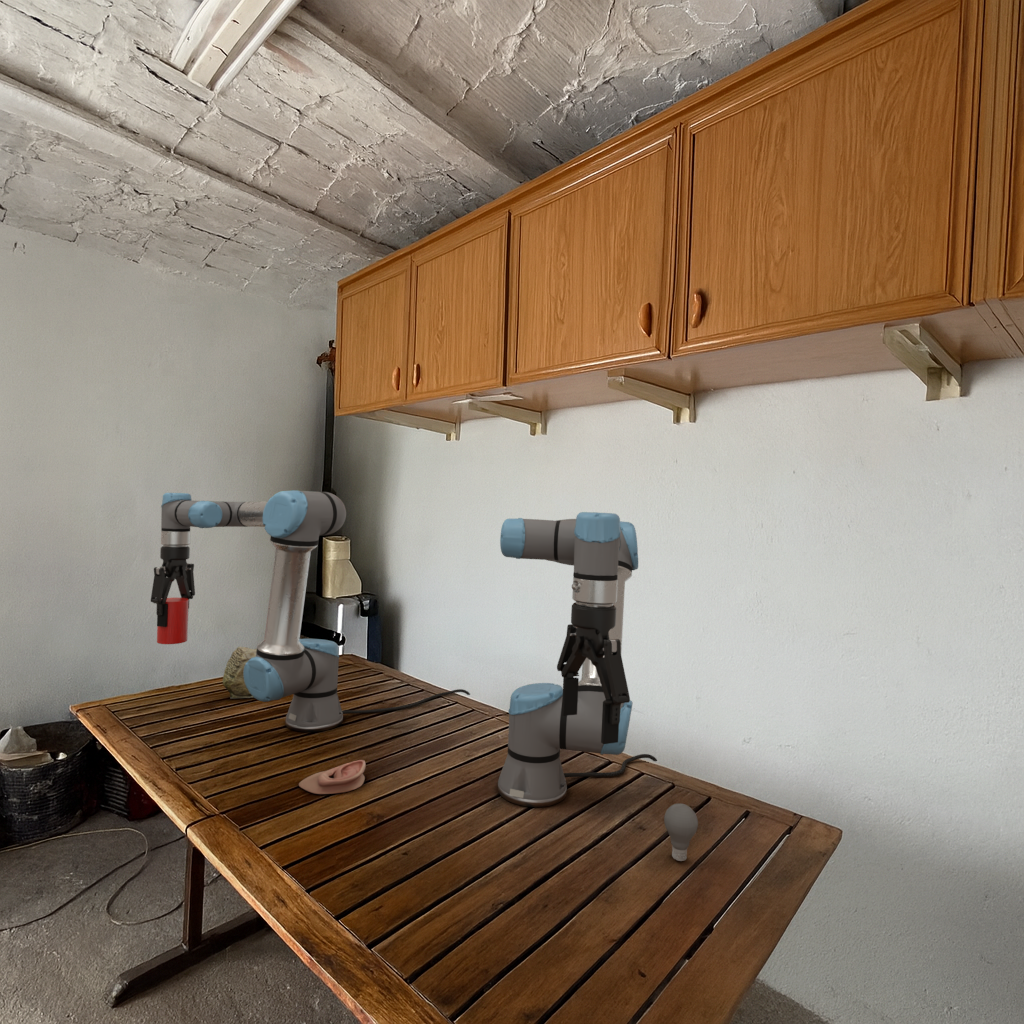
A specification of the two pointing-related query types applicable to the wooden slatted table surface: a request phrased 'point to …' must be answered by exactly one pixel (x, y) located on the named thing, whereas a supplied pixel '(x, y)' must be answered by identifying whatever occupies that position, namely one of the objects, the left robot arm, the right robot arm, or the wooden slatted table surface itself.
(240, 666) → the fossil
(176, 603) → the tin
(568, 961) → the wooden slatted table surface
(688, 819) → the light bulb
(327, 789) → the anatomical model
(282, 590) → the left robot arm
